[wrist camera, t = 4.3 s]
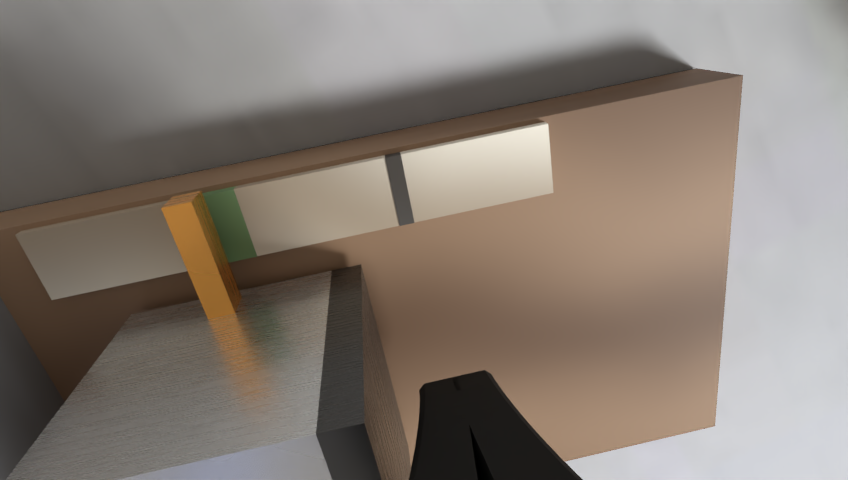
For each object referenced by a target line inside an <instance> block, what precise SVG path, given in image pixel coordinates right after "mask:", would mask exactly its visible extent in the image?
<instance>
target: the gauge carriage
mask: <svg viewBox="0 0 848 480" xmlns="http://www.w3.org/2000/svg"><path fill="white" fill-rule="evenodd" d="M161 210H162V212H163V214H164V217H165V219H166V221H167V224H168V226H169V228H170V231H171V233H172V236H173V238H174V240H175V243H176V245H177V247H178V250H179V252H180V254H181V257H182V259H183V261H184V264H185V266H186V269H187V271H188V273H189V276H190V278H191V280H192V283H193V285H194V287H195V290H196V292H197V295H198V297H199V299H198V300H194V301H189V302H184V303H180V304H175V305H171V306H166V307H161V308H157V309H152V310H147V311H143V312H138V313H134V314H131V316H130V317H129V318H128V319H127V321H126V322H125V323H124V325H123V326H122V327H121V329H120V330H119V331H118V333H117V334H116V335H115V337H114V338H113V339H112V341H111V342H110V343H109V344H108V346H107V347H106V348H105V350H104V351H103V352H102V354H101V355H100V356H99V358H98V359H97V360H96V362H95V363H94V364H93V366H92V367H91V368H90V369H89V371H88V372H87V373H86V375H85V376H84V377H83V379H82V380H81V381H80V383H79V384H78V385H77V387H76V388H75V389H74V391H73V392H72V393H71V394H70V396H69V397H68V398H67V400H66V401H65V402H64V404H63V405H62V406H61V408H60V409H59V410H58V412H57V413H56V414H55V416H54V417H53V418H52V420H51V421H50V422H49V423H48V425H47V426H46V427H45V429H44V430H43V431H42V433H41V434H40V435H39V437H38V438H37V439H36V441H35V442H34V443H33V445H32V446H31V447H30V448H29V450H28V451H27V452H26V454H25V455H24V456H23V458H22V459H21V460H20V462H19V463H18V464H17V466H16V467H15V468H14V470H13V471H12V472H11V473H10V475H9V476H8V477H7V479H6V480H409V476H410V471H411V464H410V455H409V447H408V443H407V439H406V435H405V431H404V427H403V423H402V419H401V416H400V412H399V408H398V404H397V400H396V396H395V393H394V389H393V385H392V381H391V377H390V373H389V369H388V366H387V362H386V358H385V354H384V350H383V346H382V343H381V339H380V335H379V331H378V327H377V323H376V319H375V316H374V312H373V308H372V304H371V300H370V296H369V293H368V289H367V285H366V281H365V277H364V273H363V269H362V266H361V264H360V265H355V266H351V267H346V268H342V269H337V270H332V271H328V272H323V273H318V274H314V275H309V276H305V277H300V278H295V279H291V280H286V281H281V282H277V283H272V284H268V285H263V286H258V287H254V288H249V289H244V290H240V291H239V288H238V285H237V283H236V280H235V278H234V275H233V272H232V270H231V267H230V264H229V262H228V259H227V257H226V254H225V251H224V249H223V246H222V244H221V241H220V238H219V236H218V233H217V230H216V228H215V225H214V223H213V220H212V217H211V215H210V212H209V210H208V207H207V204H206V202H205V199H204V196H203V194H202V191H197V192H192V193H187V194H182V195H178V196H173V197H172V198H171V199H170V200H169V201H168V202H167V203H166V204H165V205H164V206H163V207H161Z"/></svg>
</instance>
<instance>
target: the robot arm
mask: <svg viewBox="0 0 848 480" xmlns="http://www.w3.org/2000/svg"><path fill="white" fill-rule="evenodd" d="M419 394H420V408H419V421H418V430H417V437H416V444H415V450H414V455H413V460H412V466H411V471H410V476H409V480H582V479H581V478H580V477H579V476H578V475H577V474H576V473H575V472H574V471H573V470H572V469H571V468H570V467H569V466H568V465H567V464H566V463H565V462H564V461H563V460H562V459H561V458H560V457H559V455H558V454H557V453H556V452H555V451H554V450H553V449H552V448H551V447H550V446H549V445H548V444H547V443H546V442H545V440H544V439H543V438H542V437H541V436H540V435H539V434H538V433H537V432H536V431H535V430H534V428H533V427H532V426H531V425H530V424H529V423H528V422H527V420H526V419H525V418H524V417H523V416H522V414H521V413H520V412H519V411H518V410H517V408H516V407H515V406H514V405H513V404H512V402H511V401H510V400H509V398H508V397H507V396H506V394H505V393H504V392H503V390H502V389H501V388H500V386H499V385H498V383H497V382H496V381H495V379H494V377H493V376H492V374H491V373H489V372H487V371H486V370H482V371H478V372H473V373H469V374H464V375H460V376H455V377H451V378H447V379H442V380H438V381H433V382H429V383H424V385H423V386H422V387H421V388H420V390H419Z"/></svg>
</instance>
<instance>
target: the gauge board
mask: <svg viewBox="0 0 848 480" xmlns="http://www.w3.org/2000/svg"><path fill="white" fill-rule="evenodd" d="M742 80H743V75H737V74H730V73H723V72H716V71H710V70H703V69H691V70H686V71H682V72H677V73H672V74H667V75H662V76H657V77H652V78H648V79H643V80H638V81H633V82H628V83H623V84H619V85H614V86H609V87H604V88H599V89H594V90H590V91H585V92H580V93H575V94H570V95H565V96H560V97H556V98H551V99H546V100H541V101H536V102H531V103H527V104H522V105H517V106H512V107H507V108H502V109H498V110H493V111H488V112H483V113H478V114H473V115H468V116H464V117H459V118H454V119H449V120H444V121H439V122H435V123H430V124H425V125H420V126H415V127H410V128H406V129H401V130H396V131H391V132H386V133H381V134H376V135H372V136H367V137H362V138H357V139H352V140H347V141H343V142H338V143H333V144H328V145H323V146H318V147H314V148H309V149H304V150H299V151H294V152H289V153H284V154H280V155H275V156H270V157H265V158H260V159H255V160H251V161H246V162H241V163H236V164H231V165H226V166H222V167H217V168H212V169H207V170H202V171H197V172H193V173H188V174H183V175H178V176H173V177H168V178H163V179H159V180H154V181H149V182H144V183H139V184H134V185H130V186H125V187H120V188H115V189H110V190H105V191H101V192H96V193H91V194H86V195H81V196H76V197H71V198H67V199H62V200H57V201H52V202H47V203H42V204H38V205H33V206H28V207H23V208H18V209H13V210H9V211H4V212H0V480H6V479H7V477H8V476H9V475H10V473H11V472H12V471H13V470H14V468H15V467H16V466H17V464H18V463H19V462H20V460H21V459H22V458H23V456H24V455H25V454H26V452H27V451H28V450H29V448H30V447H31V446H32V445H33V443H34V442H35V441H36V439H37V438H38V437H39V435H40V434H41V433H42V431H43V430H44V429H45V427H46V426H47V425H48V423H49V422H50V421H51V420H52V418H53V417H54V416H55V414H56V413H57V412H58V410H59V409H60V408H61V406H62V405H63V404H64V402H65V401H66V400H67V398H68V397H69V396H70V394H71V393H72V392H73V391H74V389H75V388H76V387H77V385H78V384H79V383H80V381H81V380H82V379H83V377H84V376H85V375H86V373H87V372H88V371H89V369H90V368H91V367H92V366H93V364H94V363H95V362H96V360H97V359H98V358H99V356H100V355H101V354H102V352H103V351H104V350H105V348H106V347H107V346H108V344H109V343H110V342H111V341H112V339H113V338H114V337H115V335H116V334H117V333H118V331H119V330H120V329H121V327H122V326H123V325H124V323H125V322H126V321H127V319H128V318H129V317H130V316H131V314H134V313H138V312H143V311H147V310H152V309H157V308H161V307H166V306H171V305H175V304H180V303H184V302H189V301H194V300H198V299H199V297H198V295H197V292H196V290H195V287H194V285H193V283H192V280H191V278H190V276H189V273H188V271H187V269H186V266H185V264H184V261H183V259H182V257H181V254H180V252H179V250H178V247H177V245H176V243H175V240H174V238H173V236H172V233H171V231H170V228H169V226H168V224H167V221H166V219H165V217H164V214H163V212H162V210H161V207H163V206H164V205H165V204H166V203H167V202H168V201H169V200H170V199H171V198H172V197H173V196H178V195H182V194H187V193H192V192H197V191H202V194H203V196H204V199H205V202H206V204H207V207H208V210H209V212H210V215H211V217H212V220H213V223H214V225H215V228H216V230H217V233H218V236H219V238H220V241H221V244H222V246H223V249H224V251H225V254H226V257H227V259H228V262H229V264H230V267H231V270H232V272H233V275H234V278H235V280H236V283H237V285H238V288H239V291H240V290H244V289H249V288H254V287H258V286H263V285H268V284H272V283H277V282H281V281H286V280H291V279H295V278H300V277H305V276H309V275H314V274H318V273H323V272H328V271H332V270H337V269H342V268H346V267H351V266H355V265H360V264H361V266H362V269H363V273H364V277H365V281H366V285H367V289H368V293H369V296H370V300H371V304H372V308H373V312H374V316H375V319H376V323H377V327H378V331H379V335H380V339H381V343H382V346H383V350H384V354H385V358H386V362H387V366H388V369H389V373H390V377H391V381H392V385H393V389H394V393H395V396H396V400H397V404H398V408H399V412H400V416H401V419H402V423H403V427H404V431H405V435H406V439H407V443H408V447H409V455H410V464H411V466H412V460H413V455H414V450H415V444H416V437H417V430H418V421H419V408H420V394H419V390H420V388H421V387H422V386H423V385H424V383H429V382H433V381H438V380H442V379H447V378H451V377H455V376H460V375H464V374H469V373H473V372H478V371H482V370H486V371H487V372H489V373H491V374H492V376H493V377H494V379H495V381H496V382H497V383H498V385H499V386H500V388H501V389H502V390H503V392H504V393H505V394H506V396H507V397H508V398H509V400H510V401H511V402H512V404H513V405H514V406H515V407H516V408H517V410H518V411H519V412H520V413H521V414H522V416H523V417H524V418H525V419H526V420H527V422H528V423H529V424H530V425H531V426H532V427H533V428H534V430H535V431H536V432H537V433H538V434H539V435H540V436H541V437H542V438H543V439H544V440H545V442H546V443H547V444H548V445H549V446H550V447H551V448H552V449H553V450H554V451H555V452H556V453H557V454H558V455H559V457H560V458H561V459H562V460H563V461H569V460H573V459H577V458H581V457H586V456H590V455H594V454H598V453H603V452H607V451H611V450H615V449H620V448H624V447H628V446H632V445H637V444H641V443H645V442H649V441H654V440H658V439H662V438H666V437H671V436H675V435H679V434H683V433H688V432H692V431H696V430H700V429H705V428H709V427H713V426H715V417H716V405H717V392H718V380H719V367H720V355H721V342H722V330H723V317H724V305H725V292H726V280H727V267H728V255H729V242H730V230H731V217H732V205H733V192H734V180H735V167H736V155H737V142H738V130H739V117H740V105H741V92H742Z"/></svg>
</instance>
